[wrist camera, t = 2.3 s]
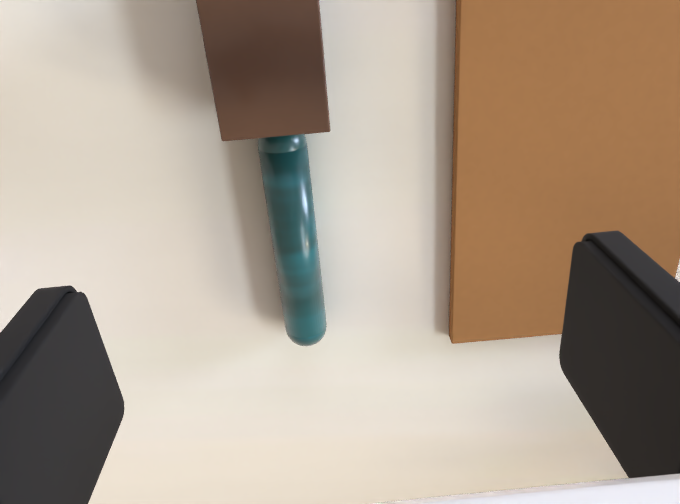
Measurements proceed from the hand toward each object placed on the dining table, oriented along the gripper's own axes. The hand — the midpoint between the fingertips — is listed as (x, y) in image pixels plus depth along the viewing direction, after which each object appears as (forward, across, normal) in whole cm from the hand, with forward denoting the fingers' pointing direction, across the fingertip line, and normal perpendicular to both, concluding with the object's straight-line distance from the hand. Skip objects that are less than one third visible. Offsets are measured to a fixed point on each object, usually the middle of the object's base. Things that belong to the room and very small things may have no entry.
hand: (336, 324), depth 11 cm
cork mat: (+16, -12, +3) cm, 21 cm away
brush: (+17, +2, +2) cm, 17 cm away
